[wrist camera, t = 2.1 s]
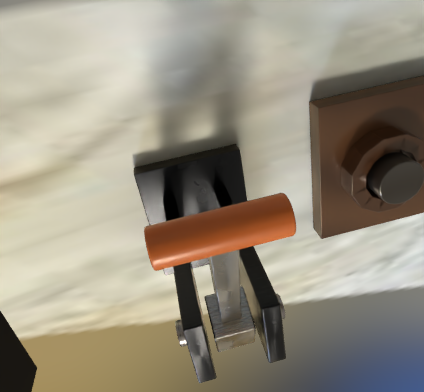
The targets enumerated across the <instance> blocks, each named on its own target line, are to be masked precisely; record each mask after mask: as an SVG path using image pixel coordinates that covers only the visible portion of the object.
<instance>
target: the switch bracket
mask: <svg viewBox="0 0 424 392" xmlns="http://www.w3.org/2000/svg"><path fill="white" fill-rule="evenodd" d="M134 176H135V179H136V183H137V186H138V189H139V192H140V196H141V199H142V202H143V205H144V209H145V212H146V215H147V218H148V221H149V225H153V224H157V223H161V222H165V221H169V220H173V219H177V218H182V217H186V216H190V215H194V214H198V213H202V212H206V211H210V210H214V209H218V208H222V207H226V206H230V205H234V204H238V203H242V202H246V201H247V198H246V191H245V184H244V177H243V170H242V163H241V156H240V150H239V148H238V147H237V145H236V144H234V145H229V146H225V147H221V148H216V149H212V150H208V151H204V152H199V153H195V154H191V155H187V156H182V157H178V158H174V159H170V160H165V161H161V162H157V163H152V164H148V165H144V166H140V167H135V168H134ZM239 260H240V285H241V287H243V288H244V291H245V295H246V298H247V301H248V304H249V308H250V311H251V314H252V317H253V320H254V323H255V326H256V328H257V331H258V334H259V337H260V339H261V342H262V345H263V347H264V350H265V353H266V356H267V358H268V361H269V362H270V363H272V362H276V361H279V360H283V359H285V358H286V354H285V345H284V334H283V325H282V319H284V318H285V310H284V306H283V303H282V300H281V298H280V296H279V295H278V294H275V292H274V289H273V287H272V285H271V283H270V281H269V279H268V277H267V274H266V272H265V270H264V268H263V266H262V264H261V262H260V259H259V257H258V255H257V253H256V251H255V249H254V247H253V246H251V247H247V248H243V249H239ZM207 264H209V260H208V258H204V259H200V260H196V261H193V262H189V263H185V264H181V265H177V266H173V267H169V268H165V269H163V270H164V273H165V275H168V274H172V273H174V276H175V282H176V289H177V295H178V302H179V308H180V315H181V320H177V321H176V322H175V324H176V331H177V336H178V339H179V343H180V346H186V345H188V349H189V352H190V355H191V358H192V362H193V365H194V368H195V371H196V375H197V377H198V381H199V383H202V382H205V381H209V380H213V379H216V373H215V369H214V364H213V359H212V354H211V350H210V345H209V341H208V336H207V332H206V327H205V323H204V318H203V314H202V309H201V305H200V300H199V296H198V291H197V286H196V282H195V277H194V273H193V268H196V267H199V266H203V265H207Z"/></svg>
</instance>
